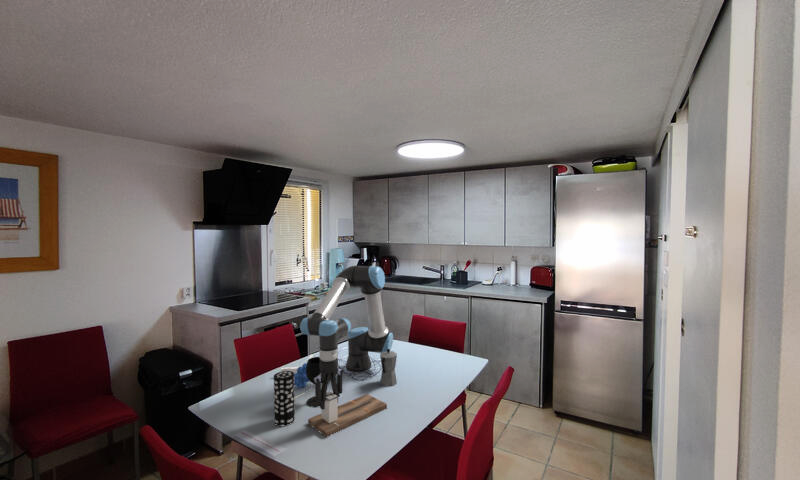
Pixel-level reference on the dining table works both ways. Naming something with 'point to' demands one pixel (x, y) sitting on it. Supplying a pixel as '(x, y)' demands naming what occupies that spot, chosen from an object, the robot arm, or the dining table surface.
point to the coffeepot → (388, 368)
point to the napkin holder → (290, 369)
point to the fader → (331, 407)
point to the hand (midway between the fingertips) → (329, 413)
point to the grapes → (301, 376)
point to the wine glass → (312, 372)
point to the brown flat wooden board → (349, 414)
